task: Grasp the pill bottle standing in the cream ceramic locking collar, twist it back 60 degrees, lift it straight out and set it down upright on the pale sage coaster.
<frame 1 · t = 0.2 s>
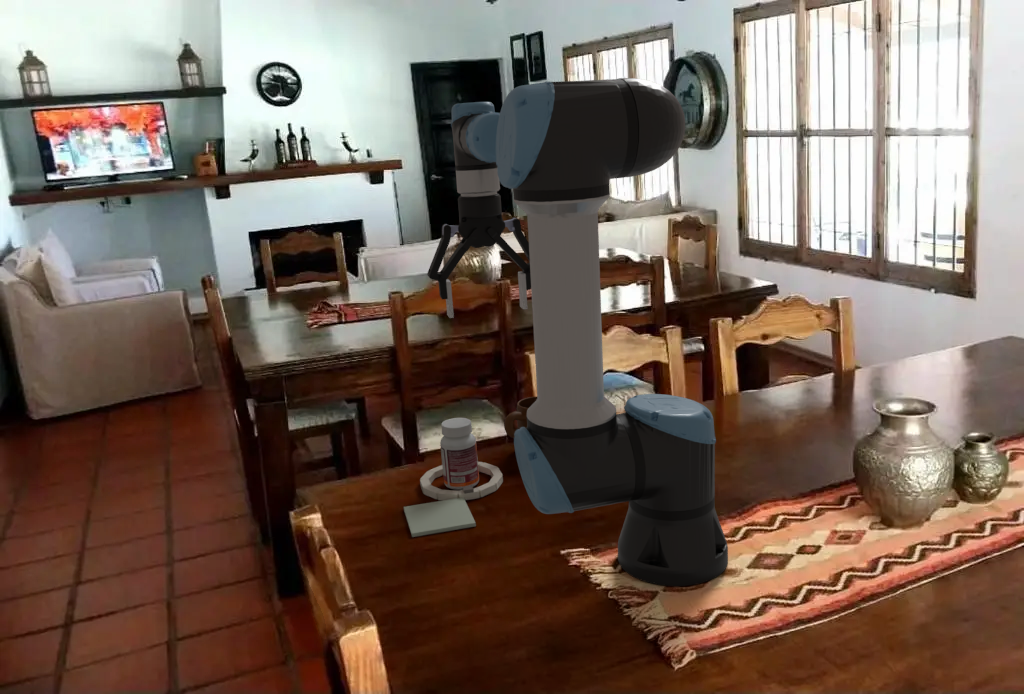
hand: (487, 312, 157), 27 cm above the table, fingers open, 13 cm apart
pill bottle: (461, 484, 151), resting in collar
collar: (461, 483, 151), on the table
coaster: (439, 518, 139), on the table
mug: (531, 453, 163), on the table
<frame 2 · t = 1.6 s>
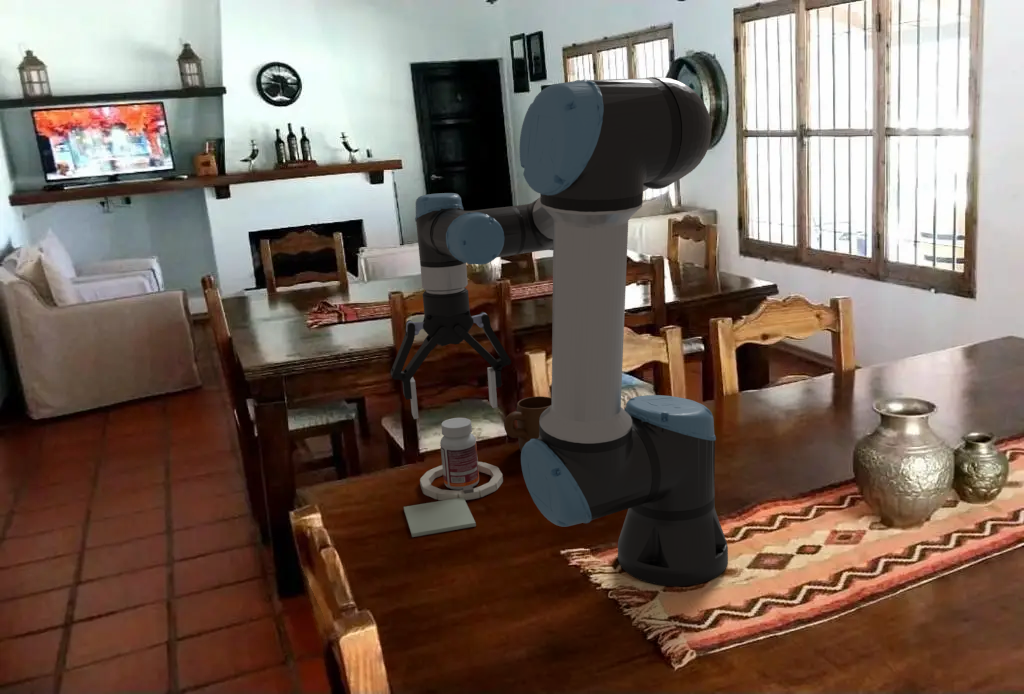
hand: (454, 411, 148), 13 cm above the table, fingers open, 13 cm apart
nothing on the table moved.
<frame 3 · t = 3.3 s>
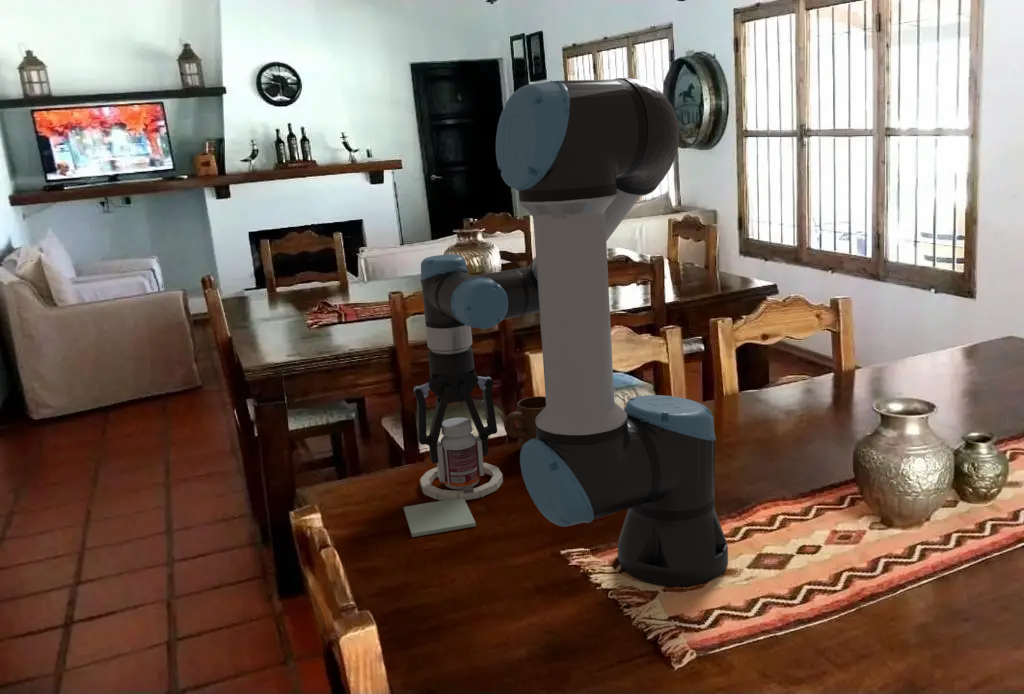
hand: (461, 475, 151), 1 cm above the table, fingers closed on pill bottle, 6 cm apart
pill bottle: (461, 484, 151), resting in collar, touching gripper
everything else where it was.
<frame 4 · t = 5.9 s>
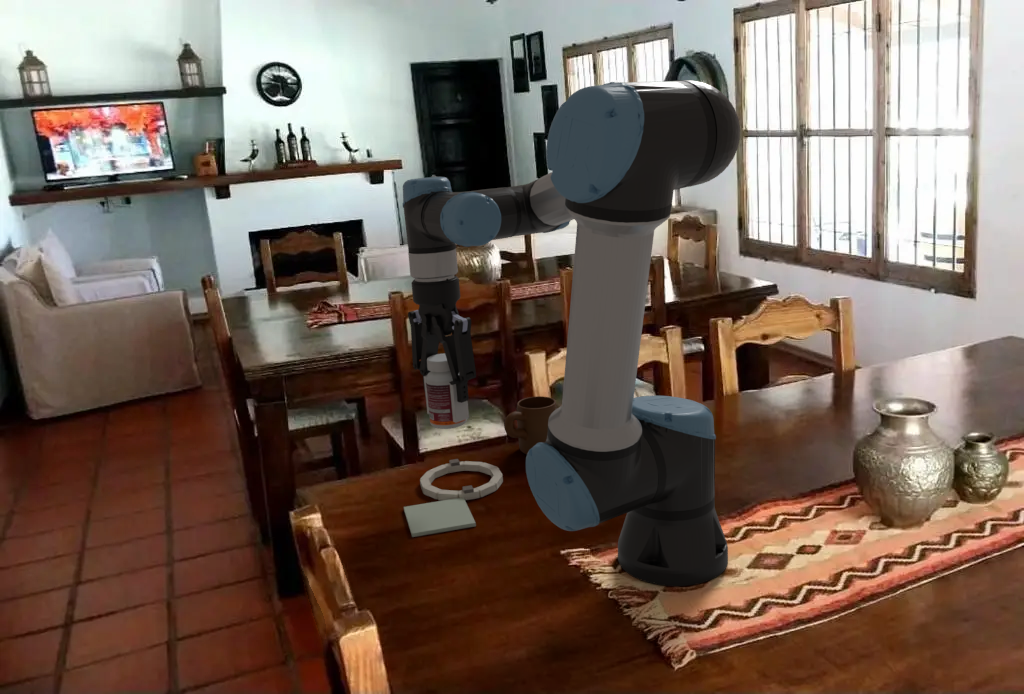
hand: (447, 415, 142), 14 cm above the table, fingers closed on pill bottle, 6 cm apart
pill bottle: (448, 424, 143), point 13 cm above the table, touching gripper
everything else where it was.
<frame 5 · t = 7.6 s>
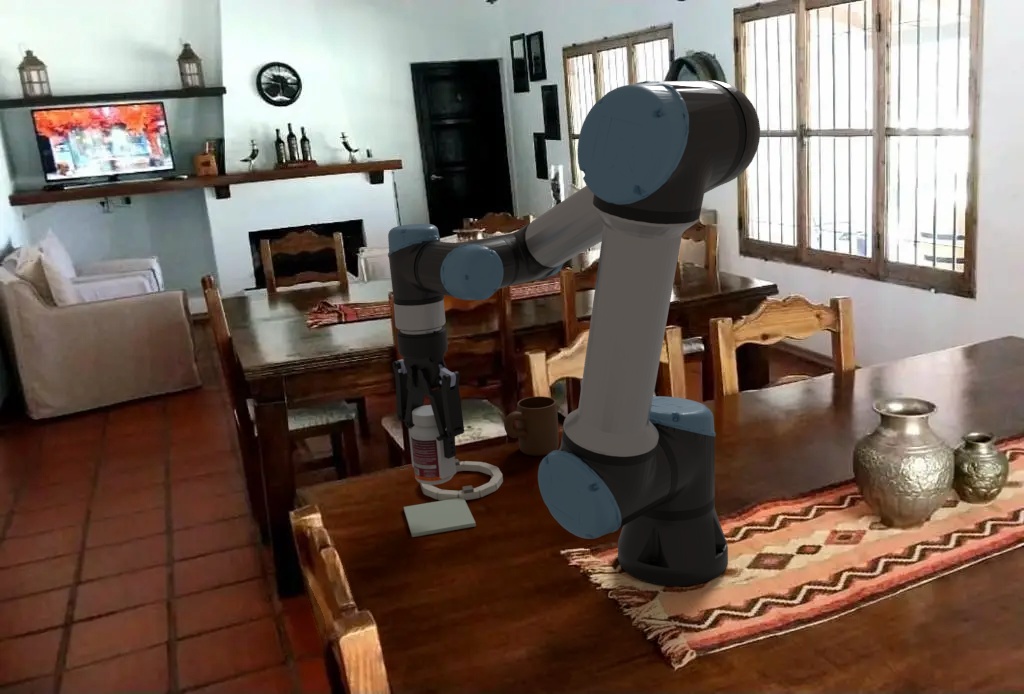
hand: (433, 469, 137), 8 cm above the table, fingers closed on pill bottle, 6 cm apart
pill bottle: (434, 479, 137), point 7 cm above the table, touching gripper
everything else where it was.
when the fingers open (3 cm above the table, at t = 8.8 s): pill bottle drops 1 cm, resting on coaster.
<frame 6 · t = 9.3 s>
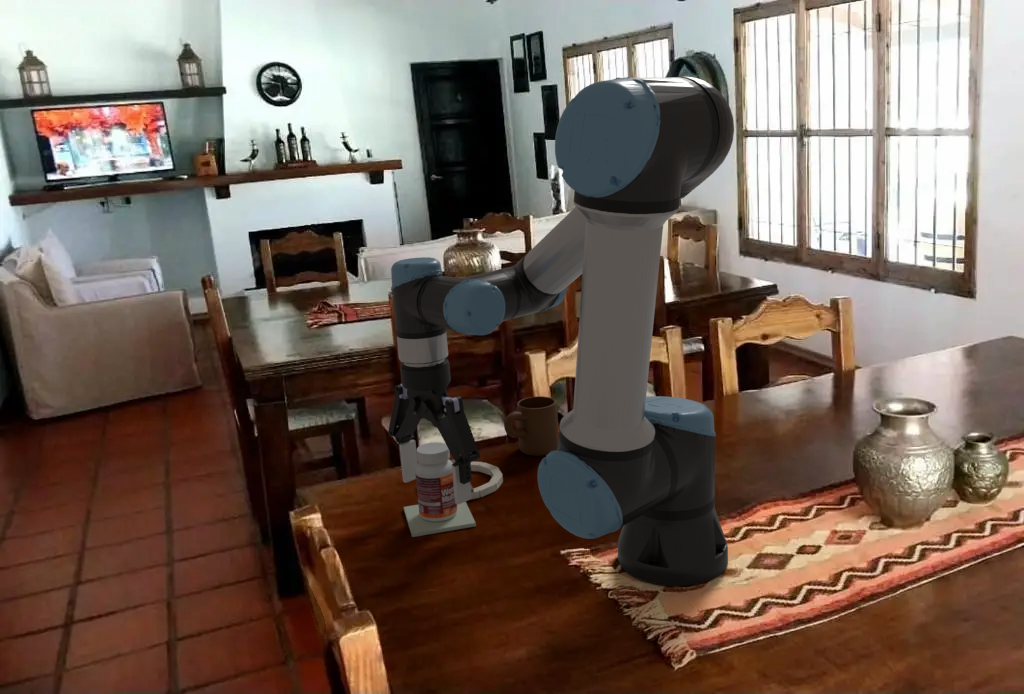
hand: (436, 490, 137), 5 cm above the table, fingers open, 12 cm apart
pill bottle: (438, 515, 139), resting on coaster
everything else where it was.
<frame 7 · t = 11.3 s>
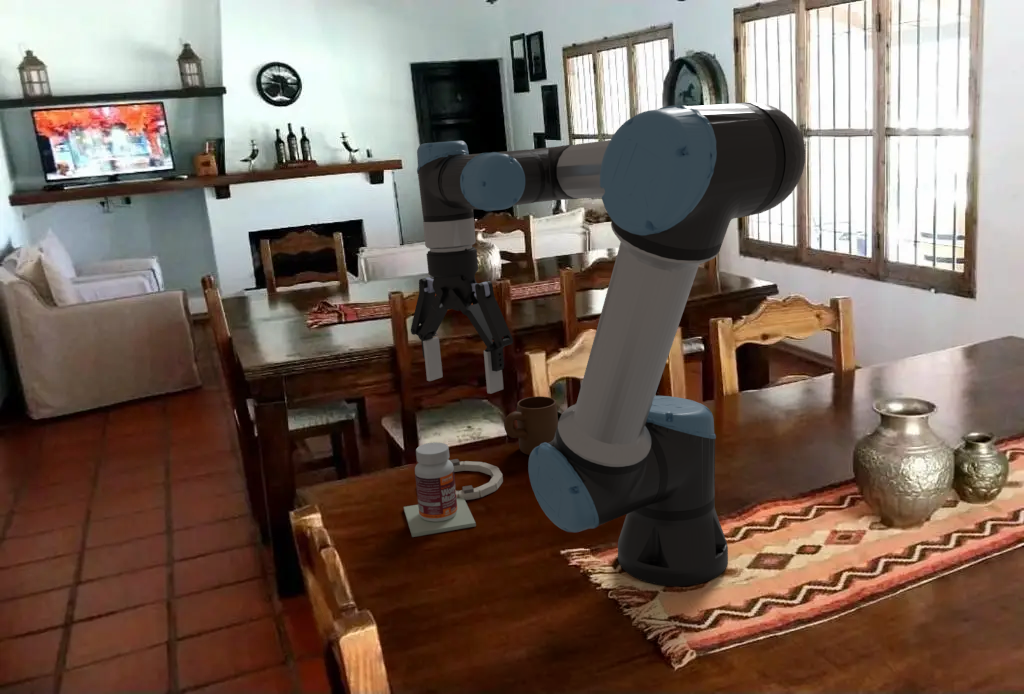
hand: (464, 385, 134), 22 cm above the table, fingers open, 13 cm apart
nothing on the table moved.
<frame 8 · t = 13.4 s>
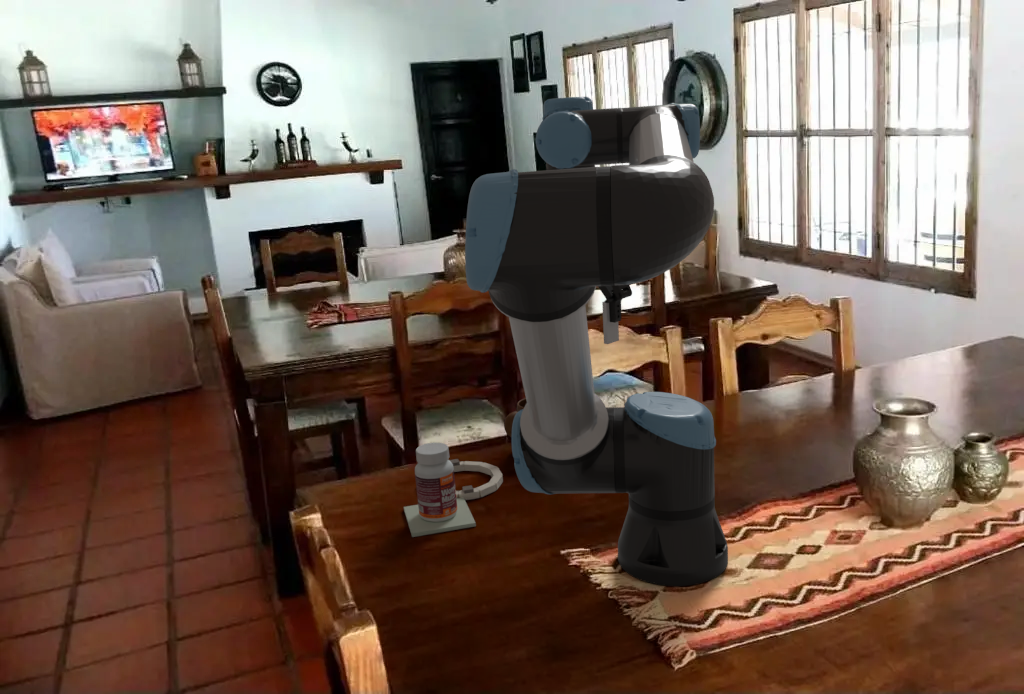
hand: (578, 336, 138), 27 cm above the table, fingers open, 13 cm apart
nothing on the table moved.
at the end: pill bottle inside the target area on the coaster (0.0 cm from its centre), point 0.4 cm above the coaster's base; pill bottle tilted 0°; the gripper is holding nothing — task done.
